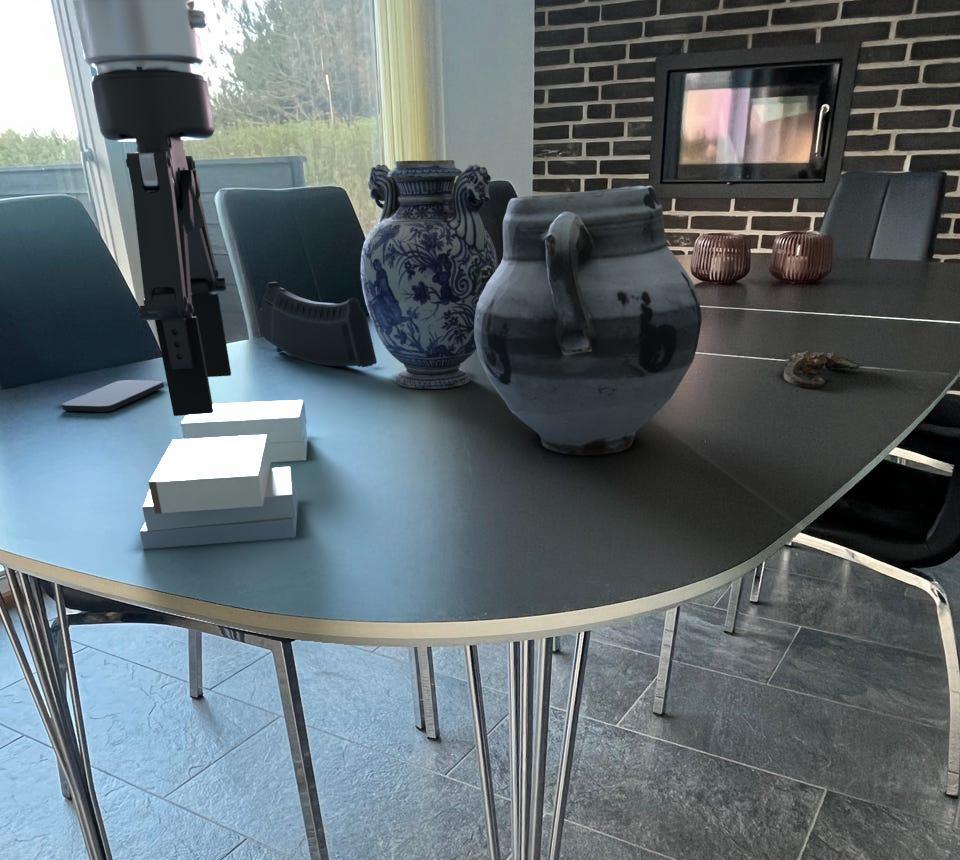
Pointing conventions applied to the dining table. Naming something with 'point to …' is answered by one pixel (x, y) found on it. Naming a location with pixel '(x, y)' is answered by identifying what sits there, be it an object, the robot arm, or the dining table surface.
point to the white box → (227, 519)
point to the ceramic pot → (587, 317)
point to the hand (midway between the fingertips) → (205, 393)
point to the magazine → (316, 329)
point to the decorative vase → (427, 267)
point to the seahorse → (813, 367)
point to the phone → (113, 395)
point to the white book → (211, 474)
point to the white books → (256, 425)
